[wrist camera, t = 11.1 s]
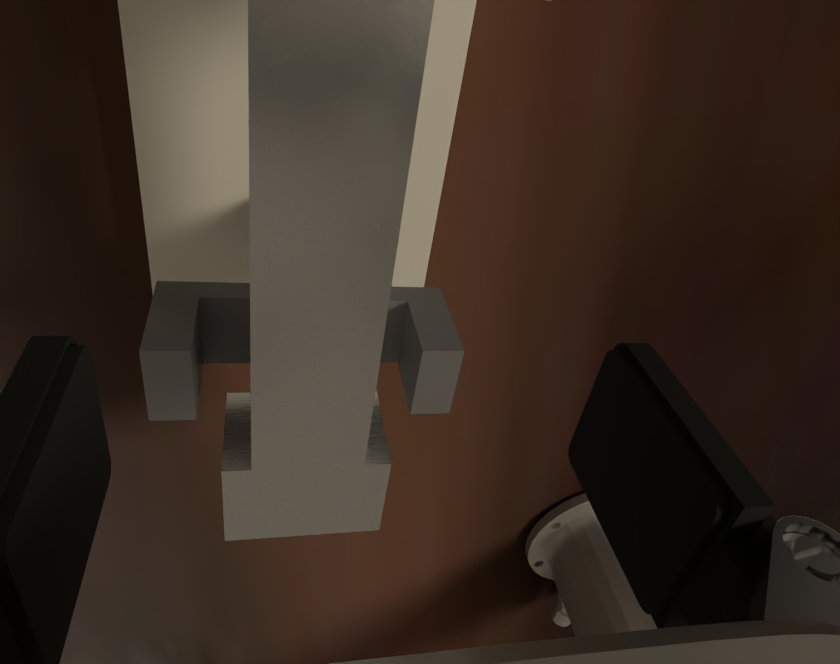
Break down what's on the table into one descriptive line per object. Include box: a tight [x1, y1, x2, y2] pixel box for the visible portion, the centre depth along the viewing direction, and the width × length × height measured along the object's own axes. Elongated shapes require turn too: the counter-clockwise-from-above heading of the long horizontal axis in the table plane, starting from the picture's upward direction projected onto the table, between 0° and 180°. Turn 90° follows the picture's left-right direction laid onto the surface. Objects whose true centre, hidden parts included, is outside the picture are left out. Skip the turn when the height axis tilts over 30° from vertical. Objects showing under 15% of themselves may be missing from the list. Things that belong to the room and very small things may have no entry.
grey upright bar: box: [221, 0, 435, 541], centre depth 18 cm, size 28×6×4 cm, turn 171°
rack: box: [117, 0, 552, 421], centre depth 22 cm, size 32×14×14 cm, turn 171°
